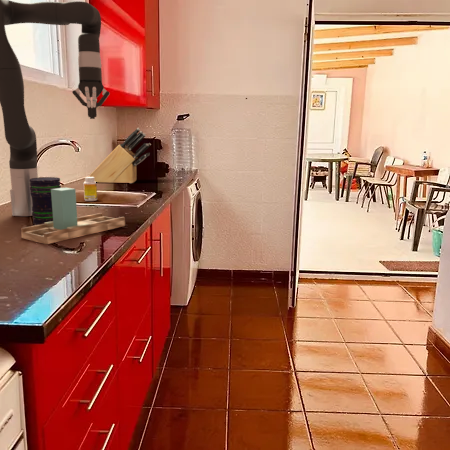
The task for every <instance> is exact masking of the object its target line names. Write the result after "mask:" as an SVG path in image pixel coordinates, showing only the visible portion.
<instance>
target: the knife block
mask: <svg viewBox="0 0 450 450" xmlns="http://www.w3.org/2000/svg"><path fill="white" fill-rule="evenodd" d="M146 136H147V134H146V133H144V132H143V131H142V130H141V128H140V127H137V128H136V129H135V130H134V131H133V132H132V133H130V134H129V135H128V137H127V138H126V139H125V140H124V142H123V143H120V144H118V145H117V146H116V147H115V148H114V149H113V150H112V151H111V152H110V153H109V154H108V155H107V156H106V157H105V159H103V161H101V162H100V164H98V166H97V167H96V168H95V169H94V170H93V171H92V172H91V173H90V174H89V175H88V176H87V177H94V179H95V182H97V183H129V184H134V183H135V182H136V181H137V166H138V165H139V164H140V163H142V162H143V161H144V160H145V159H146V158H147V157H149V156H150V154H151V152H147V153H145V151H147V150H148V149H149V147H151V145H152V144H151V143H150V142H149V143H143V144H142V145H141V146H140V147H139V148H138V149H137V150H136V151H135V152H133V151H132V150H134V149H135V148H136V146H138V144H139V143H141V142H142V141H143V140H144V138H145V137H146ZM143 153H145V154H143ZM142 154H143V155H142Z"/></svg>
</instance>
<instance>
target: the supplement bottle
mask: <svg viewBox="0 0 450 450" xmlns="http://www.w3.org/2000/svg"><path fill="white" fill-rule="evenodd" d="M97 183H98V182H97ZM97 183H96V182H95V179H94V177H88V176H85V177H84V182H83V184H82V185H83V199H84V201H85V202H94V201H95V202H96V201H97V200H98V186H97Z"/></svg>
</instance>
